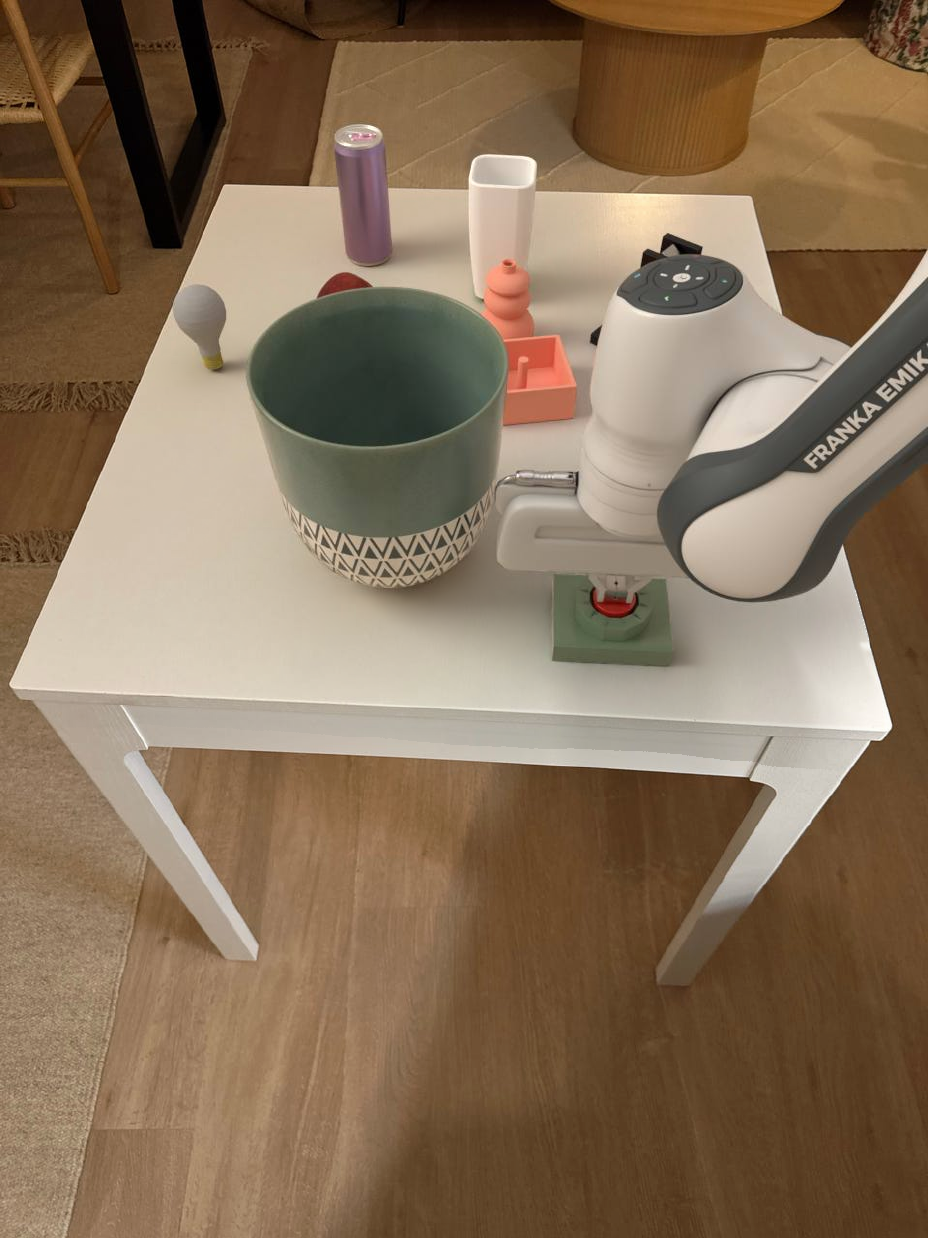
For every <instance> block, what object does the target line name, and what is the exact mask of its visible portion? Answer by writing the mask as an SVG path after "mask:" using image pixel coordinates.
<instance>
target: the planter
mask: <svg viewBox="0 0 928 1238" xmlns="http://www.w3.org/2000/svg"><path fill="white" fill-rule="evenodd" d="M316 298H317V297H316ZM316 298H314V299H311V300H309V301H307V302H305V303H302V304H300V305H298V306H296V307H294V308H293V309H291V310H289V311H288V312H286V313H284V314H282V316H280V317H278V319H276V320H275V321H274V322H272V323H271V324H270V325H269V326H268V327H267V328H266V329H265V330H264V331H263V332H262V333H261V334H260V336H259V337H258V339H257V340H256V342H255V343H254V345H253V347H252V349H251V351H250V353H249V355H248V359H247V363H246V370H245V378H246V379H245V380H246V385H247V389H248V393H249V397H250V400H251V404H252V407H253V411H254V414H255V418H256V422H257V424H258V427H259V430H260V433H261V436H262V439H263V442H264V446H265V450H266V453H267V455H268V458H269V462H270V465H271V469H272V472H273V475H274V478H275V481H276V484H277V488H278V490H279V493H280V496H281V500H282V503H283V506H284V508H285V511H286V513H287V516H288V518H289V521H290V523H291V524H292V526H293V528H294V530H295V532H296V533H297V535H298V537H299V538H300V540H301V541H302V543H303V544H304V545H305V547H306V548H307V549H308V551H309V552H310V553H311V554H312V555H313V556H314V558H316V559H317V560H318V561H319V562H320V563H321V564H322V565H323V566H325V567H326V568H327V569H329V570H330V571H332V572H333V573H335V574H337V575H338V576H341V577H342V578H344V579H346V580H349V581H352V582H354V583H358V584H361V585H365V586H369V587H374V588H389V589H392V588H393V589H394V588H406V587H410V586H411V587H412V586H416V585H419V584H422V583H426V582H428V581H430V580H432V579H435V578H437V577H439V576H440V575H443V574H444V573H446V572H448V571H449V570H451V569H452V568H453V567H455V566H456V565H457V564H458V563H459V562H460V561H461V560H463V558H464V557H466V556H467V554H468V553H469V552H470V551H471V550H472V548H473V547H474V546H475V544H476V542H477V541H478V539H479V537H480V535H481V534H482V532H483V530H484V528H485V527H486V523H487V521H488V518H489V515H490V513H491V510H492V507H493V503H494V496H495V487H496V485H497V482H498V481H497V479H498V472H499V463H500V456H501V446H502V437H503V428H504V425H503V420H504V412H505V405H506V397H507V386H508V374H509V357H508V352H507V348H506V346H505V343H504V341H503V339H502V337H501V335H500V334H499V332H498V331H497V330H496V328H495V327H494V326H493V325H492V324H491V323H490V322H489V321H488V320H487V319H486V318H485V317H484V316H482V315H481V314H482V313H480V312H478V311H477V310H475V308H472V307H470V306H469V305H467V304H465V303H463V302H461V301H460V300H457V299H454V298H453V297H449V296H446V295H443V294H441V293H437V292H433V291H429V290H424V289H419V288H410V287H402V286H373V287H368V288H358V289H351V290H346V291H341V292H336V293H333V294H329V295H326V296H322V297H319V298H317V299H316Z"/></svg>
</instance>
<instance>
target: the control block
mask: <svg viewBox="0 0 928 1238" xmlns="http://www.w3.org/2000/svg"><path fill="white" fill-rule="evenodd" d="M606 575H614V574H606ZM551 584H552V585H551V662H569V663H570V662H571V663H572V662H573V663H591V664H611V665H613V664H614V665H629V666H630V665H631V666H632V665H633V666H647V667H648V666H651V667H669V666H670V663H671V660H672V657H673V654H674V653H673V652H674V648H673V637H672V626H671V618H670V617H671V616H670V605H669V597H668V587H667V579H666V578H653V577H652V579H651V582H649V583H648V584H646V585H645V586H644V587H642V588H641V589H640V590H638V591H637V592H634V593H635V596H636V602H635V606H634V610H633V614H630V615H628V616H626V617H623V618H609V617H607V616H605V615H603V614H601V613H599V612H597V611H596V610H595V609H594V607H593V606H592V605H591V604H592V598H593V593H594V590H595V588H596V587H595V586H594V585H593V584H592V582H591V581H590V580H589V578H588V574H568V573H567V574H565V573H564V574H563V573H553V576H552V583H551Z"/></svg>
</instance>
